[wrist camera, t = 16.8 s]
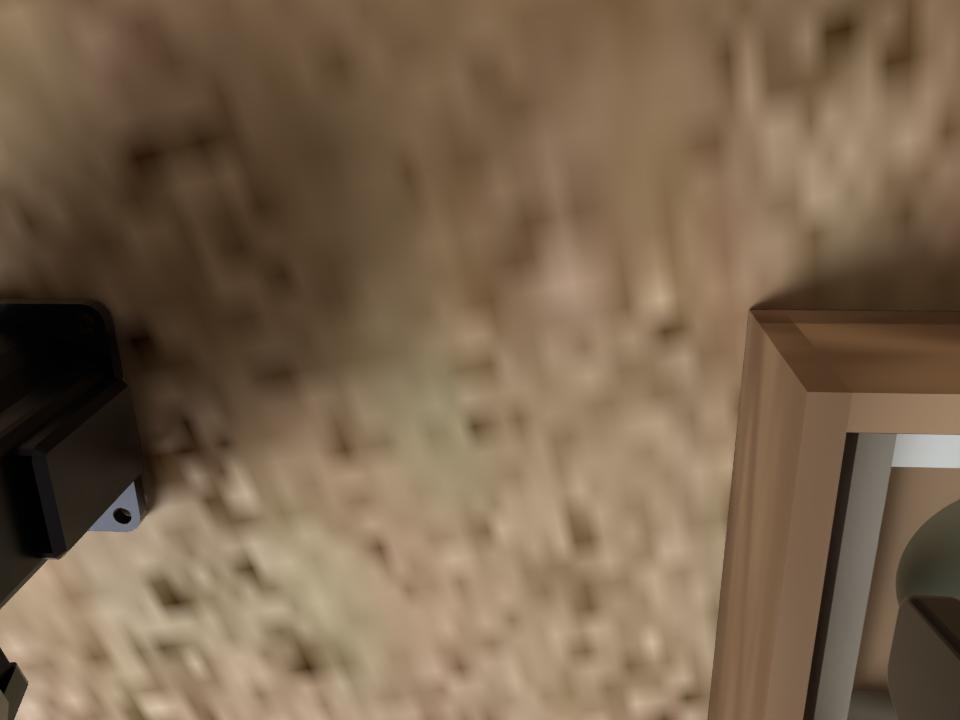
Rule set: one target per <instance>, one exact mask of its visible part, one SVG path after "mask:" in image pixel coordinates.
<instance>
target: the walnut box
mask: <svg viewBox="0 0 960 720" xmlns="http://www.w3.org/2000/svg"><path fill="white" fill-rule="evenodd" d="M958 500H960V311H860V310H749V314H748V324H747V334H746V344H745V354H744V364H743V374H742V384H741V393H740V403H739V413H738V423H737V433H736V443H735V453H734V463H733V473H732V483H731V493H730V503H729V513H728V523H727V533H726V543H725V553H724V563H723V572H722V582H721V592H720V602H719V612H718V622H717V632H716V642H715V652H714V662H713V672H712V682H711V692H710V702H709V712H708V720H898V718H897V715H896V712H895V709H894V705H893V702H892V699H891V696H890V692H889V687H888V680H887V666H888V660H889V655H890V650H891V644H892V639H893V634H894V629H895V624H896V618H897V613H898V609H899V604H898V600H897V596H896V587H895V583H896V572H897V568H898V564H899V561H900V558H901V556H902V553H903V551H904V549H905V548H906V546H907V544H908V542H909V541H910V540H911V538H912V537H913V536H914V534H915V533H916V532H917V530H918V529H919V528H920V527H921V526H922V525H923V524H924V523H925V522H926V521H927V520H929V519H930V518H931V517H932V516H933V515H935V514H936V513H937V512H939V511H940V510H942V509H943V508H945V507H946V506H948V505H950V504H952V503H954V502H956V501H958Z"/></svg>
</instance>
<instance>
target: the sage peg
mask: <svg viewBox="0 0 960 720" xmlns="http://www.w3.org/2000/svg"><path fill="white" fill-rule="evenodd" d="M895 587H896V596H897V600H898V604H899V606H900V603H901V602H902V600H903V599H904V598H905V597H907V596H908V595H912V594H913V595H945V596H951V597H954V598H956V599H958V600H960V500H958V501H956V502H954V503H952V504H950V505H948V506H946V507H945V508H943V509H942V510H940V511H939V512H937V513H936V514H935V515H933V516H932V517H931V518H930V519H929V520H927V521H926V522H925V523H924V524H923V525H922V526H921V527H920V528H919V529H918V530H917V532H916V533H915V534H914V536H913V537H912V538H911V540H910V541H909V542H908V544H907V546H906V548H905V549H904V551H903V553H902V556H901V558H900V561H899V564H898V568H897V572H896V583H895Z"/></svg>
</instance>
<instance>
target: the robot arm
mask: <svg viewBox="0 0 960 720" xmlns="http://www.w3.org/2000/svg"><path fill="white" fill-rule="evenodd" d="M84 314H88V315H90V316H91V317H92V318H93V319H94V322H95V328H93V327H90V326H89V325H87V324H86V323H85V320H84ZM143 470H144V463H143V458H142V452H141V446H140V441H139V435H138V429H137V424H136V418H135V412H134V407H133V401H132V396H131V390H130V387H129V385H128V384H127V383H126V382H125V380H123V374H122V369H121V363H120V358H119V352H118V347H117V341H116V335H115V330H114V324H113V319H112V316H111V313H110V311H109V310H108V309H107V308H106V306H105V305H103V304H102V303H100V302H98V301H96V300H91V299H0V609H1V608H2V607H3V606H4V605H5V604H6V603H7V602H8V601H9V600H10V599H11V598H12V597H13V596H14V594H15V593H16V592H17V591H18V590H19V589H20V588H21V587H22V586H23V585H24V584H25V583H26V582H27V581H28V580H29V579H30V578H31V577H32V576H33V575H34V574H35V573H36V572H37V570H38V569H39V568H40V567H41V566H42V565H43V564H44V563H45V562H46V561H47V560H48V559H57V560H59V559H61V558H62V557H63V556H64V555H65V554H66V553H67V552H68V551H69V550H70V549H71V548H72V547H73V546H74V545H75V544H76V543H77V541H78V540H79V539H80V538H81V537H82V536H83V535H84V534H85V533H86V532H87V531H112V532H128V531H133V530H134V529H136V528H137V527H138V526H139V525H140V523H141V522H142V521H143V520H144V518H145V516H146V513H147V508H146V502H145V497H144V491H143V486H142V480H141V475H140V474H141V473H142V472H143ZM120 508H124V509H126V510H128V511H129V512H130V514H131V516H127V515H125V514H124V513H122V511H121V509H120ZM887 680H888V687H889V692H890V696H891V699H892V702H893V705H894V709H895V712H896V715H897V718H898V720H960V600H958V599H956V598H954V597H951V596H945V595H913V594H912V595H908V596H907V597H905V598H904V599H903V600H902V602H901V603H900V606H899V609H898V613H897V618H896V624H895V629H894V634H893V639H892V644H891V650H890V655H889V660H888V666H887ZM27 686H28V681H27V679H26V678H25V676H24V674H23V673H22V671H21V670H20V668H19V666H18V665H17V663H15V662H12V663H10V662H9V661H8V659H7V657H6V656H5V654H4V653H3V651H2V649H1V648H0V720H14V718H15V716H16V713H17V711H18V708H19V706H20V703H21V701H22V698H23V696H24V693H25V691H26V689H27Z"/></svg>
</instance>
